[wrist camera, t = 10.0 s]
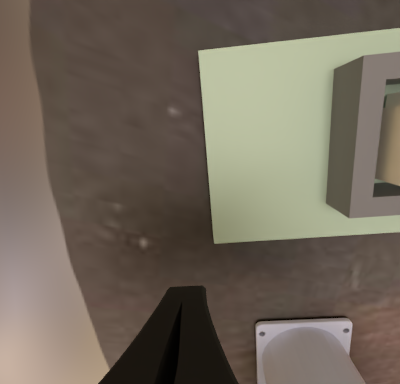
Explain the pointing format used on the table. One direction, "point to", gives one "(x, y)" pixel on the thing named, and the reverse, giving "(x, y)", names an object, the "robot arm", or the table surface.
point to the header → (299, 136)
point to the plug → (389, 142)
